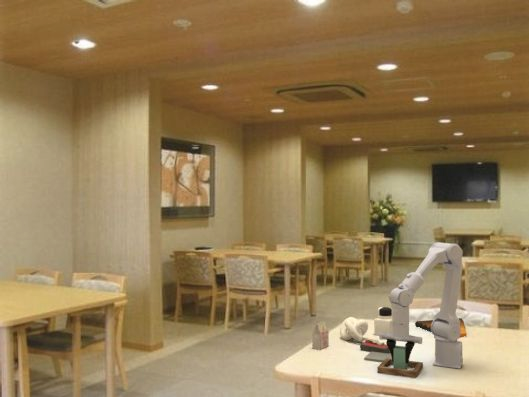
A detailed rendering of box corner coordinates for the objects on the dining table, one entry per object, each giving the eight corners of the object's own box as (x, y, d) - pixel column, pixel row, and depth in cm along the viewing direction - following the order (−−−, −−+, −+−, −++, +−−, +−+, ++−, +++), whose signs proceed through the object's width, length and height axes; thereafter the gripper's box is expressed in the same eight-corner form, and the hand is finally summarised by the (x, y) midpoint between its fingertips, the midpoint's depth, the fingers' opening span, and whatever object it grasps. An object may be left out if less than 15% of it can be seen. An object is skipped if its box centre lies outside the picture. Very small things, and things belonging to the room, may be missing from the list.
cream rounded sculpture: (360, 335, 246) (360, 315, 246) (374, 342, 234) (374, 320, 234) (337, 337, 242) (337, 316, 242) (349, 344, 231) (350, 322, 231)
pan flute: (459, 324, 273) (414, 327, 265) (459, 317, 273) (414, 320, 265) (494, 335, 249) (447, 339, 241) (494, 328, 249) (447, 331, 241)
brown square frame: (422, 368, 197) (422, 362, 197) (415, 378, 185) (415, 372, 185) (386, 363, 203) (386, 357, 203) (377, 372, 191) (377, 367, 191)
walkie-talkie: (399, 352, 219) (354, 344, 232) (399, 341, 219) (355, 333, 232) (388, 356, 213) (343, 348, 225) (388, 345, 213) (343, 337, 225)
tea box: (312, 348, 223) (312, 323, 223) (320, 345, 228) (320, 321, 228) (320, 350, 220) (320, 325, 221) (328, 346, 226) (328, 322, 226)
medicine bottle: (395, 334, 249) (395, 307, 249) (389, 337, 243) (389, 309, 243) (379, 332, 253) (380, 305, 253) (374, 335, 247) (374, 308, 247)
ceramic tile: (397, 356, 211) (397, 354, 211) (390, 363, 202) (390, 361, 202) (371, 353, 216) (371, 351, 216) (364, 359, 207) (364, 357, 207)
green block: (407, 369, 195) (407, 346, 195) (405, 372, 191) (405, 349, 191) (396, 368, 197) (396, 345, 197) (393, 371, 193) (393, 348, 193)
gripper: (377, 323, 194) (377, 362, 194) (419, 327, 187) (419, 367, 187) (382, 319, 200) (382, 357, 200) (423, 323, 194) (423, 362, 194)
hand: (400, 362), depth 194 cm, fingers closed on green block, 4 cm apart
